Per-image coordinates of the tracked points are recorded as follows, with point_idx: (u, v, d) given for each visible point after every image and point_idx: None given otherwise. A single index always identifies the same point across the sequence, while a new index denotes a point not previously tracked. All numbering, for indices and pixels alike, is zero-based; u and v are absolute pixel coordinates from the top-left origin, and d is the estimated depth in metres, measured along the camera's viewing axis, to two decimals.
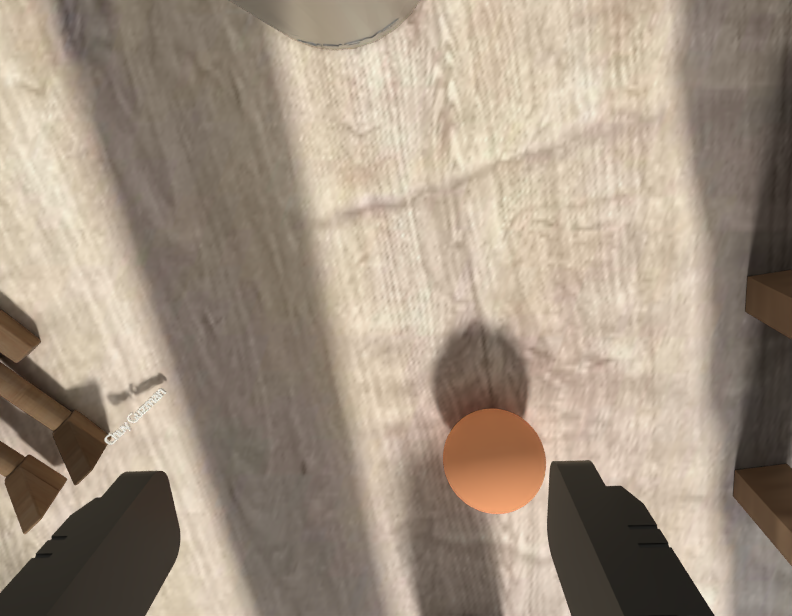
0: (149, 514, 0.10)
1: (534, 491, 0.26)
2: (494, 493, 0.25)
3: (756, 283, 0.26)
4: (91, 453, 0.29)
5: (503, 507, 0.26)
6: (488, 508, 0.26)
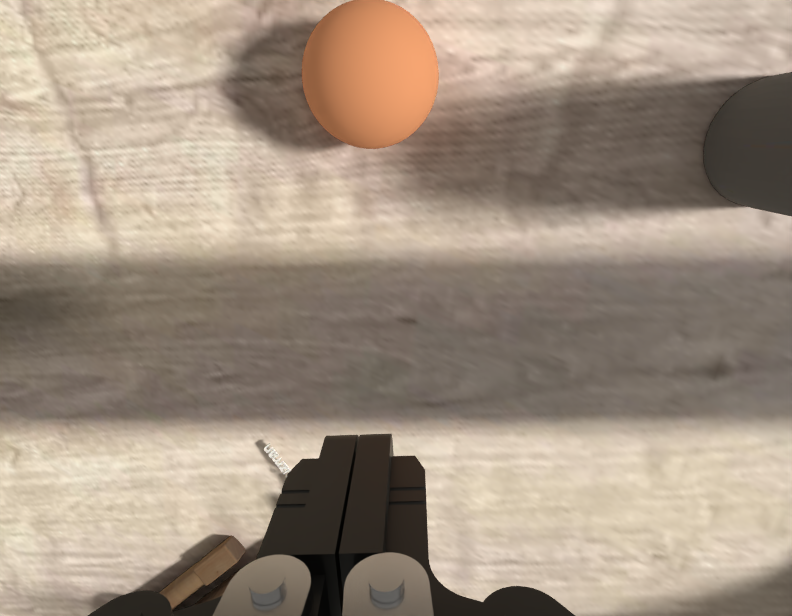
0: None
1: (382, 17, 0.18)
2: (363, 80, 0.18)
3: None
4: None
5: (392, 67, 0.18)
6: (396, 90, 0.19)
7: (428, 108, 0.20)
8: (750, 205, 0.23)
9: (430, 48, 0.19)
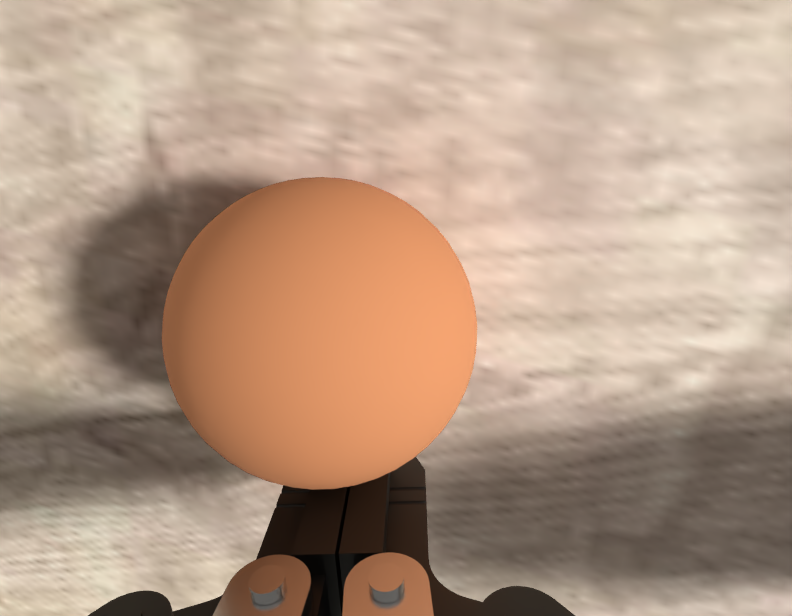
0: None
1: (344, 181, 0.08)
2: (286, 271, 0.07)
3: None
4: None
5: (364, 248, 0.07)
6: (377, 300, 0.07)
7: (462, 372, 0.08)
8: None
9: (453, 251, 0.09)
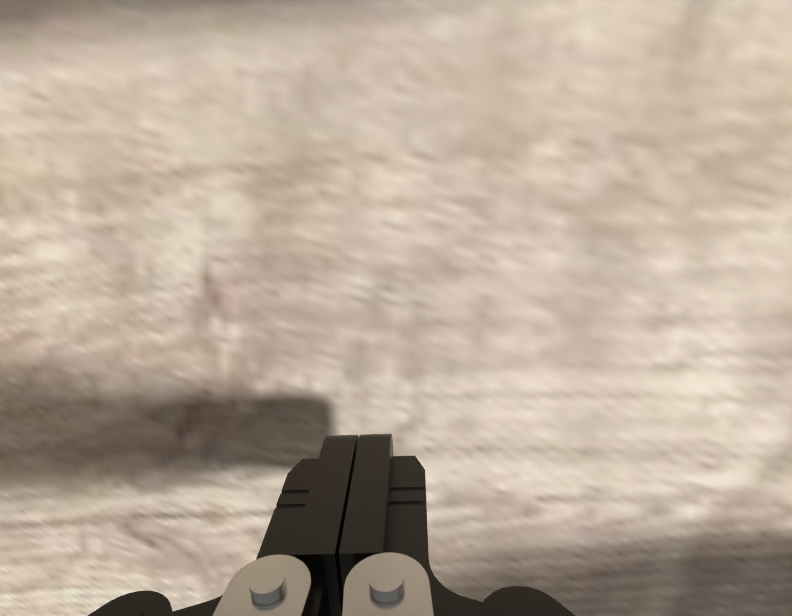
0: None
1: None
2: None
3: None
4: None
5: None
6: None
7: None
8: None
9: None
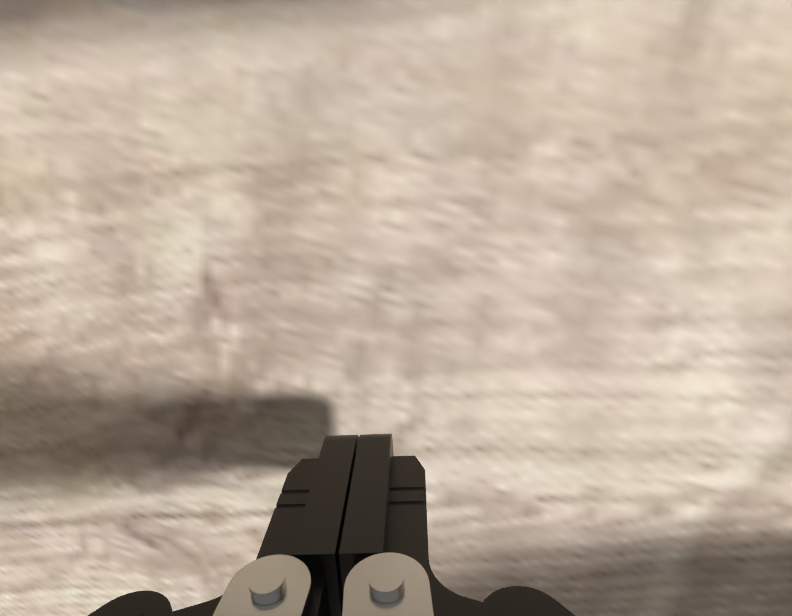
0: None
1: None
2: None
3: None
4: None
5: None
6: None
7: None
8: None
9: None
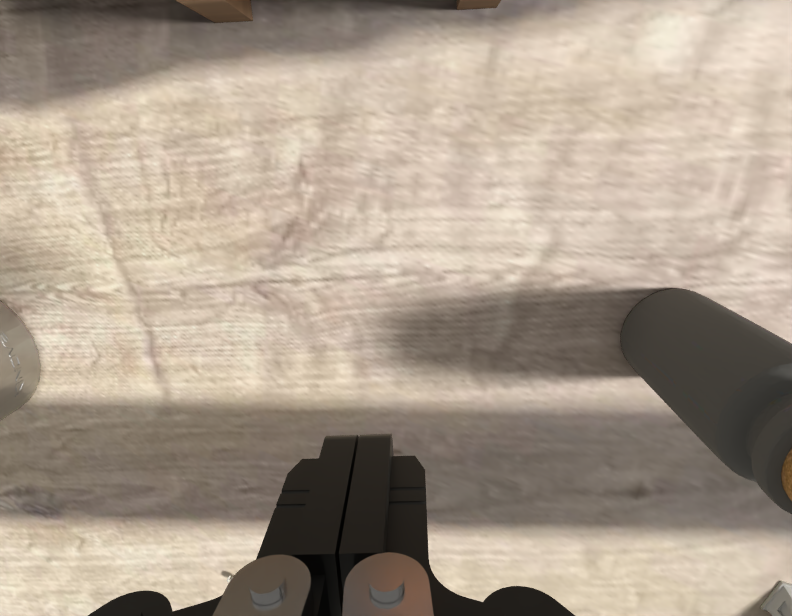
0: None
1: None
2: None
3: (212, 19, 0.26)
4: None
5: None
6: None
7: None
8: None
9: None
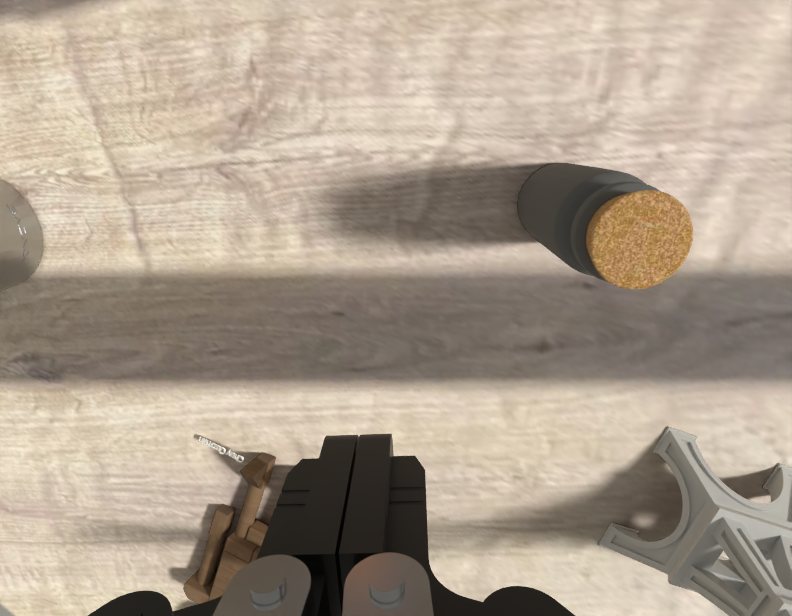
0: None
1: None
2: None
3: None
4: None
5: None
6: None
7: None
8: None
9: None
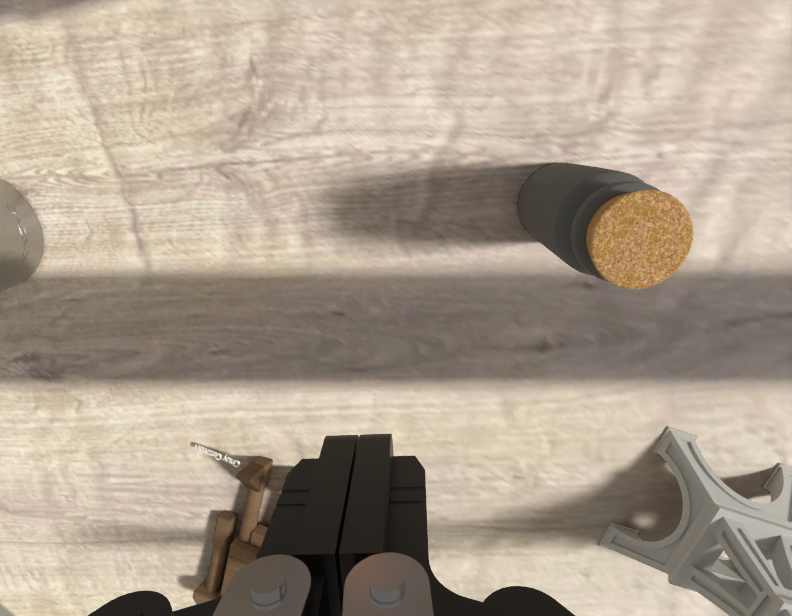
0: None
1: None
2: None
3: None
4: None
5: None
6: None
7: None
8: None
9: None
